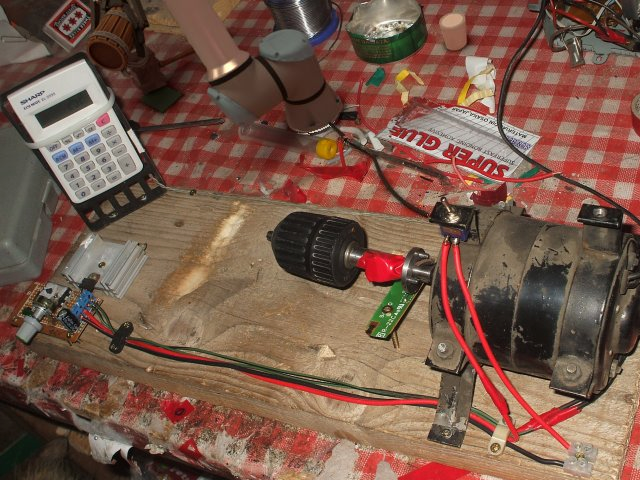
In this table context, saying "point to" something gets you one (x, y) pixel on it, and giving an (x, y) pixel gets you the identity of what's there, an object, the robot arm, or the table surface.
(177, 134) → the table surface
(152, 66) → the hammer
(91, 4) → the robot arm
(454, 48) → the pink cylinder
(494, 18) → the table surface
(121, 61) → the mug
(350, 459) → the table surface
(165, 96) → the mat
